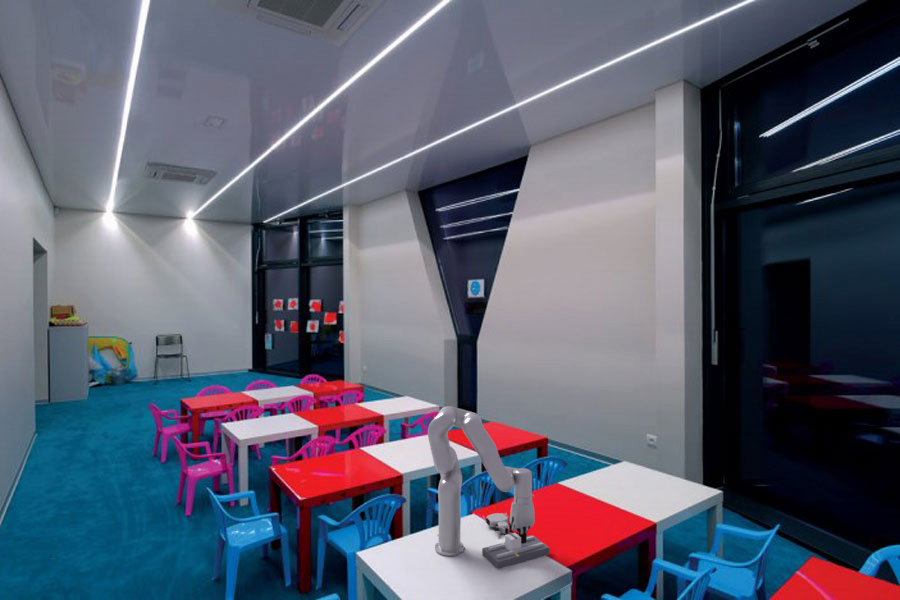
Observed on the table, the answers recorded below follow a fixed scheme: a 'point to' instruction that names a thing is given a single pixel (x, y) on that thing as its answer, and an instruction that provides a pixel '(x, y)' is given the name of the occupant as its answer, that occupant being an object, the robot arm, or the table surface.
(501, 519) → the robot toy
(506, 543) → the fader tab
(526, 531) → the robot arm
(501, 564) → the grey slider rail base
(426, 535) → the table surface
